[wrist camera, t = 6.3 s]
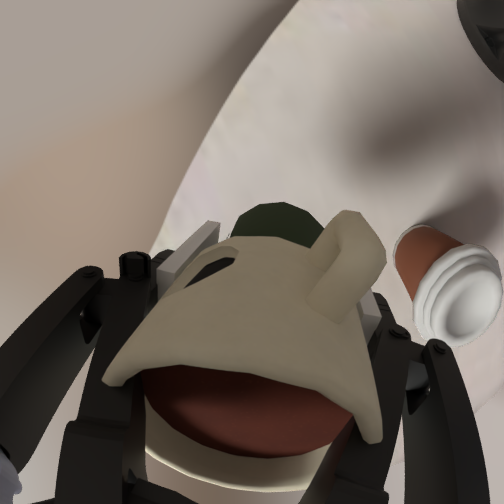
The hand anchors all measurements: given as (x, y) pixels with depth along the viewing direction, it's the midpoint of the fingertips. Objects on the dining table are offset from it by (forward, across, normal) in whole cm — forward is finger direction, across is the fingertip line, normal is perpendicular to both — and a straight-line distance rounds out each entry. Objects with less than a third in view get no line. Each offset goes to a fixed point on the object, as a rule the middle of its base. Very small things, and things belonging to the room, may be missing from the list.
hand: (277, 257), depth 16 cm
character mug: (+1, 0, 0) cm, 1 cm away
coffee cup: (+13, +15, -2) cm, 20 cm away
